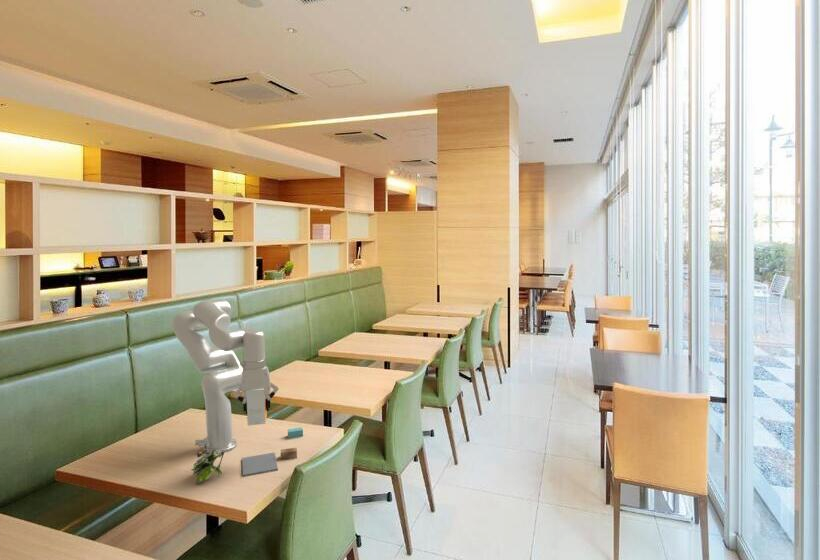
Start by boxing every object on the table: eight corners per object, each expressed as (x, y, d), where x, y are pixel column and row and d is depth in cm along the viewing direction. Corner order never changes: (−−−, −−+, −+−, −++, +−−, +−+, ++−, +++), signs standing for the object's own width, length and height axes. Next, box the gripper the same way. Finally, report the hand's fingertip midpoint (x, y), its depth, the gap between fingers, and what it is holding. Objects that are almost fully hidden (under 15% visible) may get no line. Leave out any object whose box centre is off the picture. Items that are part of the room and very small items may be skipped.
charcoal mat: (243, 476, 168) (243, 474, 168) (242, 459, 181) (242, 457, 181) (277, 470, 172) (277, 468, 172) (274, 453, 185) (274, 452, 185)
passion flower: (203, 487, 171) (210, 453, 177) (229, 485, 168) (234, 450, 174) (181, 483, 162) (189, 447, 168) (208, 481, 159) (215, 444, 165)
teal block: (288, 439, 199) (288, 432, 199) (287, 436, 202) (287, 429, 202) (303, 436, 201) (302, 429, 201) (302, 434, 204) (301, 427, 204)
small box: (265, 424, 172) (264, 389, 170) (247, 426, 170) (245, 390, 169) (267, 416, 179) (265, 382, 178) (249, 417, 178) (248, 384, 177)
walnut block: (280, 460, 180) (280, 452, 180) (281, 456, 183) (280, 449, 183) (297, 458, 181) (296, 451, 181) (297, 455, 184) (296, 447, 184)
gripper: (229, 369, 166) (232, 418, 168) (280, 364, 172) (282, 411, 174) (229, 364, 173) (232, 411, 175) (278, 359, 179) (280, 404, 181)
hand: (257, 411), depth 174 cm, fingers closed on small box, 6 cm apart
